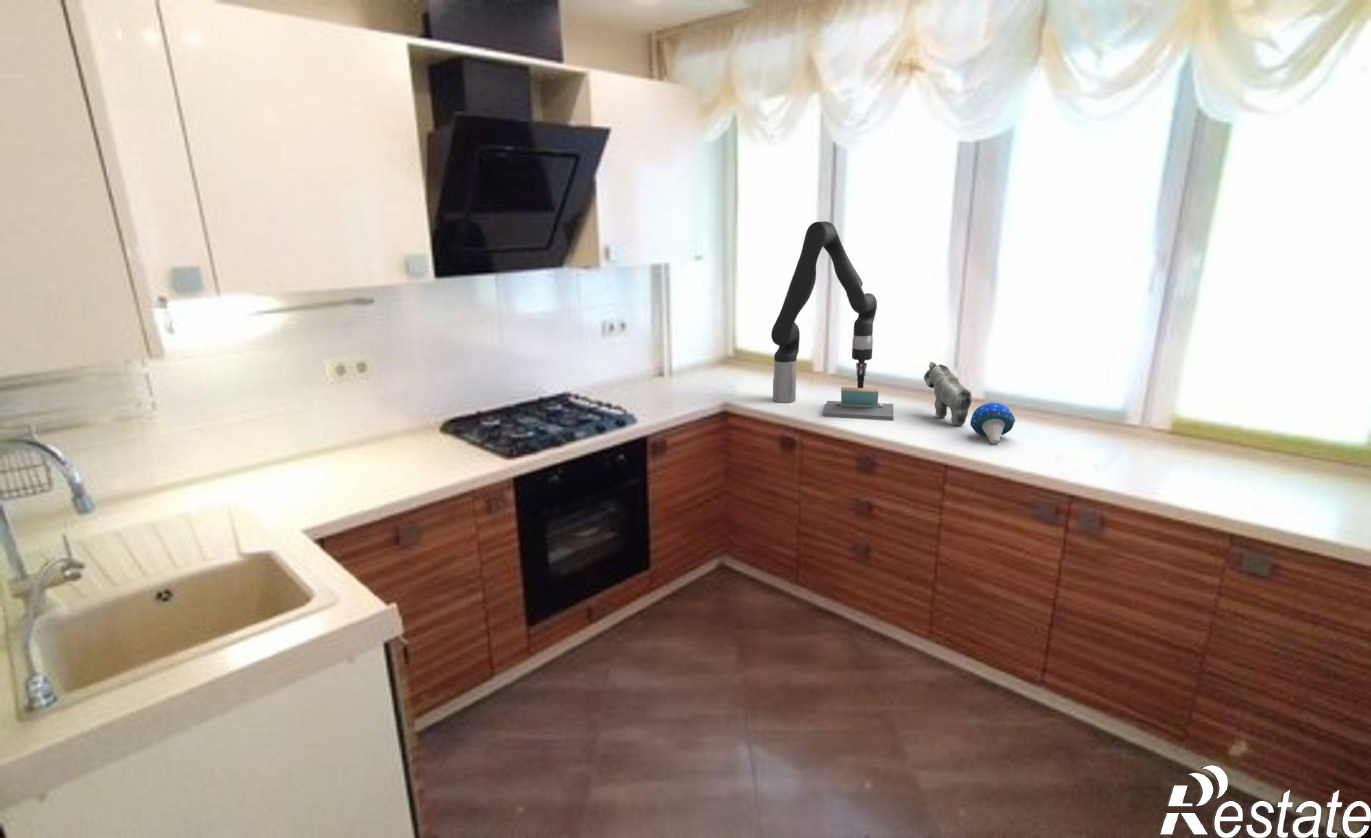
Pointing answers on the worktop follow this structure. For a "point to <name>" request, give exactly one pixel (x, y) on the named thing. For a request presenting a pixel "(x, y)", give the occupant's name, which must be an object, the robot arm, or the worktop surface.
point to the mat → (859, 411)
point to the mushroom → (992, 421)
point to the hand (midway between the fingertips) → (860, 390)
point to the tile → (859, 396)
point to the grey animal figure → (948, 393)
